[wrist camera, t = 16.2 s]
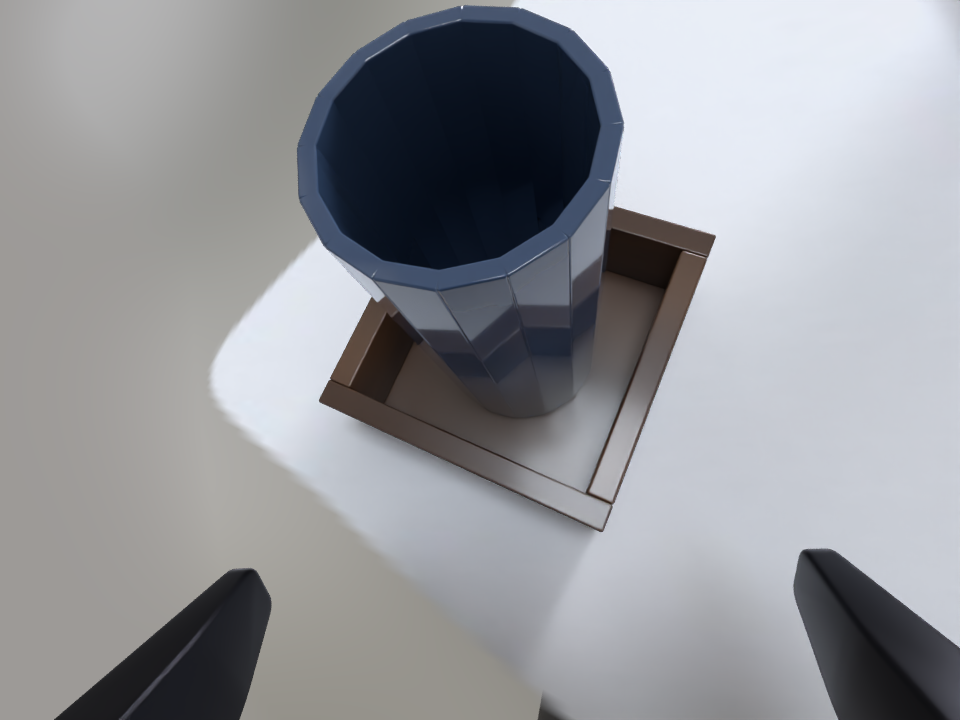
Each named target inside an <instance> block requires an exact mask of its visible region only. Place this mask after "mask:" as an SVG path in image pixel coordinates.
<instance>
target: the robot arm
mask: <svg viewBox="0 0 960 720" xmlns="http://www.w3.org/2000/svg"><path fill="white" fill-rule="evenodd" d="M794 596H795V600H796V603H797V606H798V609H799V612H800V614H801V617H802V620H803V623H804V626H805V629H806V632H807V635H808V637H809V640H810V643H811V646H812V649H813V652H814V655H815V657H816V660H817V663H818V666H819V669H820V672H821V675H822V678H823V680H824V683H825V686H826V689H827V692H828V695H829V697H830V700H831V703H832V705H833V708H834V710H835V713H836V715H837V717H838V719H839V720H960V648H959V647H958V646H956V645H955V644H954V643H953V642H951V641H950V640H949V639H947V638H946V637H945V636H944V635H942V634H941V633H940V632H939V631H937V630H936V629H935V628H933V627H932V626H931V625H930V624H928V623H927V622H926V621H924V620H923V619H922V618H921V617H919V616H918V615H917V614H915V613H914V612H913V611H912V610H910V609H909V608H908V607H906V606H905V605H904V604H903V603H901V602H900V601H899V600H897V599H896V598H895V597H894V596H892V595H891V594H890V593H888V592H887V591H886V590H885V589H883V588H882V587H881V586H880V585H878V584H877V583H876V582H874V581H873V580H872V579H871V578H869V577H868V576H867V575H865V574H864V573H863V572H862V571H860V570H859V569H858V568H856V567H855V566H854V565H853V564H851V563H850V562H849V561H847V560H846V559H845V558H844V557H842V556H841V555H840V554H838V553H837V552H835V551H833V550H831V549H805V550H803V551H802V552H801V553H800V555H799V559H798V564H797V569H796V574H795V579H794ZM270 612H271V598H270V595H269V593H268V591H267V589H266V587H265V586H264V584H263V582H262V580H261V578H260V576H259V574H258V573H257V571H256V570H254V569H252V568H243V569H232V570H230V571H228V572H227V573H226V574H224V575H223V576H222V577H221V578H220V579H218V580H217V581H216V582H215V583H214V584H213V585H211V586H210V587H209V588H208V589H207V590H205V591H204V592H203V593H202V594H201V595H200V596H198V597H197V598H196V599H195V600H194V601H193V602H191V603H190V604H189V605H188V606H187V607H186V608H185V609H183V610H182V611H181V612H180V613H179V614H177V615H176V616H175V617H174V618H173V619H171V620H170V621H169V622H168V623H167V624H166V625H165V626H163V627H162V628H161V629H160V630H159V631H157V632H156V633H155V634H154V635H153V636H152V637H151V638H149V639H148V640H147V641H146V642H145V643H143V644H142V645H141V646H140V647H139V648H137V649H136V650H135V651H134V652H133V653H132V654H131V655H129V656H128V657H127V658H126V659H125V660H123V661H122V662H121V663H120V664H119V665H118V666H116V667H115V668H114V669H113V670H112V671H110V672H109V673H108V674H107V675H106V676H105V677H104V678H102V679H101V680H100V681H99V682H98V683H96V684H95V685H94V686H93V687H92V688H91V689H89V690H88V691H87V692H86V693H85V694H84V695H82V696H81V697H80V698H79V699H78V700H76V701H75V702H74V703H73V704H72V705H71V706H70V707H68V708H67V709H66V710H65V711H64V712H63V713H61V714H60V715H59V716H58V717H57V718H56V719H54V720H239V719H240V716H241V713H242V711H243V708H244V705H245V702H246V699H247V695H248V692H249V689H250V685H251V681H252V678H253V675H254V670H255V667H256V664H257V660H258V656H259V653H260V649H261V645H262V642H263V638H264V634H265V631H266V627H267V624H268V620H269V616H270Z"/></svg>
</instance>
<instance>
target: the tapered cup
mask: <svg viewBox="0 0 960 720" xmlns="http://www.w3.org/2000/svg"><path fill="white" fill-rule="evenodd" d="M623 132H624V121H623V117H622V113H621V109H620V106H619V102H618V98H617V94H616V91H615V87H614V83H613V79H612V76H611V72H610V71H609V69H608V67H607V66H606V65H605V64H604V63H603V62H602V61H601V60H600V59H599V58H598V56H597V55H596V54H595V53H594V52H593V51H592V50H591V49H590V48H589V47H588V46H587V45H586V43H585V42H584V41H583V40H582V39H581V38H580V37H579V36H578V35H577V34H576V33H575V32H574V31H573V30H571V29H570V28H568V27H566V26H563V25H561V24H559V23H556V22H554V21H551V20H549V19H547V18H544V17H542V16H540V15H537V14H535V13H532V12H530V11H528V10H525V9H523V8H521V9H520V8H518V7H494V6H493V7H492V6H469V5H464V6H457V7H454V8H450V9H447V10H443V11H439V12H436V13H432V14H428V15H424V16H421V17H417V18H414V19H410V20H407V21H406V22H402V23H400V24H399V25H397V26H396V27H394V28H392V29H391V30H389V31H388V32H386V33H385V34H383V35H381V36H380V37H378V38H376V39H375V40H373V41H371V42H370V43H368V44H367V45H365V46H364V47H362V48H360V49H359V50H357V51H356V52H355V53H354V54H352V55H351V57H350V58H349V59H348V60H347V61H346V62H345V64H344V65H343V66H342V67H341V68H340V69H339V70H338V72H337V73H336V74H335V75H334V76H333V77H332V79H331V80H330V81H329V82H328V83H327V84H326V85H325V87H324V88H323V89H322V90H321V91H320V92H319V94H318V96H317V97H316V99H315V102H314V104H313V107H312V109H311V112H310V114H309V117H308V119H307V122H306V124H305V127H304V130H303V132H302V135H301V137H300V140H299V142H298V147H297V164H298V194H299V199H300V203H301V205H302V207H303V209H304V210H305V213H306V214H307V216H308V218H309V220H310V222H311V224H312V225H313V227H314V229H315V231H316V233H317V235H318V237H319V238H320V240H321V242H322V244H323V246H324V247H325V248H326V249H327V250H328V251H329V252H330V253H331V254H332V255H333V256H334V257H335V258H336V260H337V261H338V262H339V263H340V264H341V265H342V266H343V267H344V268H345V269H346V270H347V271H348V272H349V273H350V274H351V275H352V276H353V277H354V278H355V279H356V281H357V282H358V283H359V284H360V285H361V286H362V287H363V288H364V289H365V290H366V291H367V292H368V293H369V294H370V295H371V296H372V297H373V298H374V299H375V301H376V302H377V303H378V304H379V305H380V306H381V307H382V308H383V309H384V310H385V311H386V312H387V313H388V314H389V315H390V316H391V317H392V318H393V319H394V320H395V322H396V323H397V324H398V325H399V326H400V327H401V328H402V329H403V330H404V331H405V332H406V333H407V334H408V335H409V336H410V337H411V338H412V339H413V340H414V341H415V343H416V344H417V345H418V346H419V347H420V348H421V349H422V350H423V351H424V352H425V353H426V354H427V355H428V356H429V357H430V358H431V359H432V360H433V361H434V362H435V364H436V365H437V366H438V367H439V368H440V369H441V370H442V371H443V372H444V373H445V374H446V375H447V376H448V377H449V378H450V379H451V380H452V381H453V382H454V383H455V385H456V386H457V387H458V388H459V389H460V390H461V391H462V392H463V393H464V394H465V395H466V396H468V397H469V398H470V399H472V400H473V401H474V402H475V403H476V404H478V405H479V406H481V407H482V408H484V409H486V410H488V411H490V412H492V413H494V414H497V415H501V416H504V417H511V418H530V417H536V416H540V415H544V414H546V413H549V412H552V411H553V410H555V409H557V408H559V407H561V406H562V405H564V404H565V403H566V402H568V401H569V400H570V399H571V398H572V397H573V396H574V395H575V394H576V393H577V392H578V391H579V389H580V388H581V387H582V385H583V384H584V382H585V380H586V379H587V377H588V375H589V373H590V371H591V366H592V363H593V357H594V352H595V348H596V342H597V334H598V326H599V318H600V310H601V303H602V295H603V287H604V279H605V272H606V264H607V256H608V248H609V240H610V233H611V225H612V217H613V209H614V202H615V194H616V186H617V178H618V170H619V163H620V155H621V147H622V139H623Z"/></svg>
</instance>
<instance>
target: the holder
mask: <svg viewBox="0 0 960 720" xmlns="http://www.w3.org/2000/svg"><path fill="white" fill-rule="evenodd" d="M715 238H716V235H713V234H710V233H706V232H703V231H699V230H696V229H692V228H689V227H685V226H682V225H678V224H675V223H671V222H668V221H664V220H661V219H657V218H654V217H650V216H647V215H643V214H640V213H636V212H633V211H629V210H626V209H622V208H619V207H615V206H614V209H613V217H612V225H611V233H610V240H609V248H608V256H607V264H606V272H605V279H604V287H603V295H602V303H601V310H600V318H599V326H598V334H597V342H596V348H595V352H594V357H593V363H592V366H591V371H590V373H589V375H588V377H587V379H586V380H585V382H584V384H583V385H582V387H581V388H580V389H579V391H578V392H577V393H576V394H575V395H574V396H573V397H572V398H571V399H570V400H569V401H568V402H566V403H565V404H564V405H562V406H561V407H559V408H557V409H555V410H553V411H552V412H549V413H546V414H544V415H540V416H536V417H530V418H511V417H504V416H501V415H497V414H494V413H492V412H490V411H488V410H486V409H484V408H482V407H481V406H479V405H478V404H476V403H475V402H474V401H473V400H472V399H470V398H469V397H468V396H466V395H465V394H464V393H463V392H462V391H461V390H460V389H459V388H458V387H457V386H456V385H455V383H454V382H453V381H452V380H451V379H450V378H449V377H448V376H447V375H446V374H445V373H444V372H443V371H442V370H441V369H440V368H439V367H438V366H437V365H436V364H435V362H434V361H433V360H432V359H431V358H430V357H429V356H428V355H427V354H426V353H425V352H424V351H423V350H422V349H421V348H420V347H419V346H418V345H417V344H416V343H415V341H414V340H413V339H412V338H411V337H410V336H409V335H408V334H407V333H406V332H405V331H404V330H403V329H402V328H401V327H400V326H399V325H398V324H397V323H396V322H395V320H394V319H393V318H392V317H391V316H390V315H389V314H388V313H387V312H386V311H385V310H384V309H383V308H382V307H381V306H380V305H379V304H378V303H377V302H376V301H375V299H374V298H373V297H371V299H370V301H369V303H368V305H367V307H366V309H365V311H364V313H363V315H362V317H361V319H360V321H359V323H358V325H357V327H356V328H355V330H354V332H353V334H352V336H351V338H350V340H349V342H348V344H347V346H346V348H345V350H344V352H343V354H342V356H341V358H340V360H339V362H338V364H337V366H336V368H335V369H334V371H333V373H332V375H331V377H330V379H331V380H329V381H328V383H327V385H326V387H325V389H324V391H323V393H322V395H321V397H320V399H319V402H320V403H322V404H325V405H327V406H329V407H331V408H333V409H335V410H338V411H340V412H342V413H344V414H346V415H348V416H351V417H353V418H355V419H357V420H359V421H361V422H364V423H366V424H368V425H370V426H372V427H374V428H377V429H379V430H381V431H383V432H385V433H387V434H389V435H392V436H394V437H396V438H398V439H400V440H402V441H405V442H407V443H409V444H411V445H413V446H415V447H418V448H420V449H422V450H424V451H426V452H428V453H431V454H433V455H435V456H437V457H439V458H441V459H444V460H446V461H448V462H450V463H452V464H454V465H457V466H459V467H461V468H463V469H465V470H467V471H470V472H472V473H474V474H476V475H478V476H480V477H483V478H485V479H487V480H489V481H491V482H493V483H495V484H498V485H500V486H502V487H504V488H506V489H508V490H511V491H513V492H515V493H517V494H519V495H521V496H524V497H526V498H528V499H530V500H532V501H534V502H537V503H539V504H541V505H543V506H545V507H547V508H550V509H552V510H554V511H556V512H558V513H560V514H563V515H565V516H567V517H569V518H571V519H573V520H576V521H578V522H580V523H582V524H584V525H586V526H589V527H591V528H593V529H595V530H597V531H599V532H603V531H604V528H605V526H606V523H607V521H608V518H609V515H610V513H611V510H612V505H611V504H613V503H614V502H615V500H616V497H617V494H618V492H619V489H620V486H621V484H622V481H623V479H624V476H625V473H626V471H627V468H628V465H629V463H630V460H631V458H632V455H633V452H634V450H635V447H636V445H637V442H638V439H639V437H640V434H641V431H642V429H643V426H644V424H645V421H646V418H647V416H648V413H649V411H650V408H651V405H652V403H653V400H654V397H655V395H656V392H657V390H658V387H659V384H660V382H661V379H662V376H663V374H664V371H665V369H666V366H667V363H668V361H669V358H670V356H671V353H672V350H673V348H674V345H675V342H676V340H677V337H678V335H679V332H680V329H681V327H682V324H683V321H684V319H685V316H686V314H687V311H688V308H689V306H690V303H691V301H692V298H693V295H694V293H695V290H696V287H697V285H698V282H699V280H700V277H701V274H702V272H703V269H704V266H705V264H706V261H707V258H708V256H709V254H710V251H711V248H712V246H713V243H714V240H715Z"/></svg>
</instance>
